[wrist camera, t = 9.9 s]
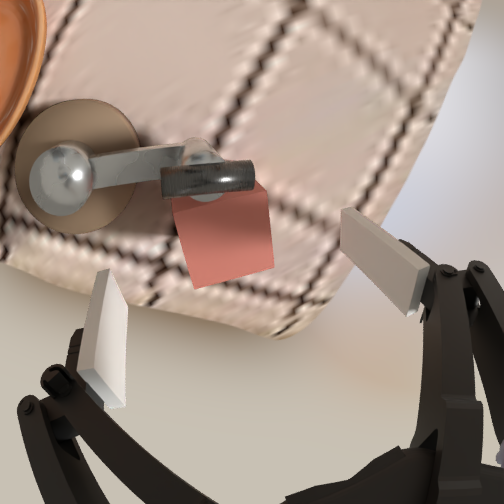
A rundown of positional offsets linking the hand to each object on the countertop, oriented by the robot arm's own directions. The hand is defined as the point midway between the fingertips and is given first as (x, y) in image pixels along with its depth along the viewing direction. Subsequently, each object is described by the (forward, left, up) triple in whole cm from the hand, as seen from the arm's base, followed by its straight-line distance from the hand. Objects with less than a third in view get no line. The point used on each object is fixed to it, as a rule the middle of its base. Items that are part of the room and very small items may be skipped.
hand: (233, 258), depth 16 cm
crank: (-5, -5, -5) cm, 9 cm away
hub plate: (-6, -9, -8) cm, 13 cm away
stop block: (0, 0, -8) cm, 8 cm away
